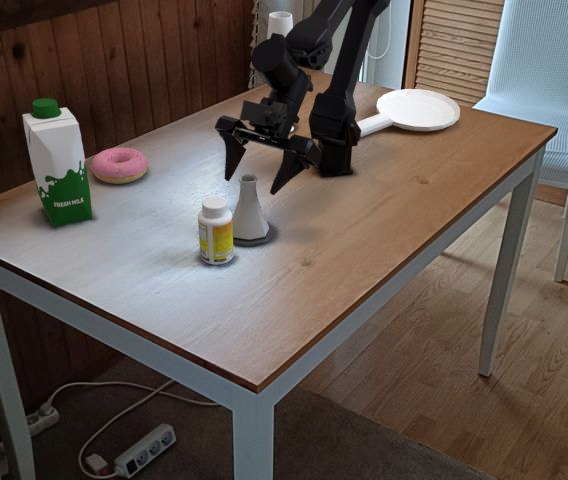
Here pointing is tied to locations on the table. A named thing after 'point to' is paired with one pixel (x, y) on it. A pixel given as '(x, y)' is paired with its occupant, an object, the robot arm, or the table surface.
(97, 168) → the doughnut
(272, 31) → the champagne flute
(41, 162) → the milk carton
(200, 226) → the supplement bottle
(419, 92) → the frying pan
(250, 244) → the slate coaster
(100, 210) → the table surface
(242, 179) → the flask
